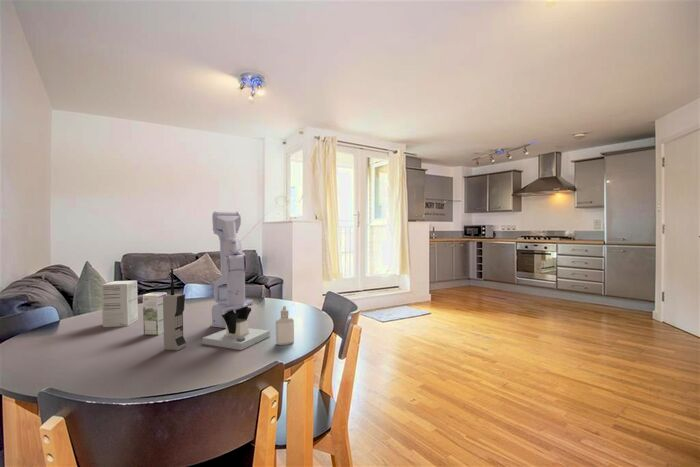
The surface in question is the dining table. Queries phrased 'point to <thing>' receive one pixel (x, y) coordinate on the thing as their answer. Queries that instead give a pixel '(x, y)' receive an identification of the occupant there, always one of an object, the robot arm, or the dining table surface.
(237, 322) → the plug block
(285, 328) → the eye dropper bottle
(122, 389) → the dining table surface
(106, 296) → the supplement box
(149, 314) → the syrup box
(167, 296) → the vintage mobile phone
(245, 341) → the socket plate
